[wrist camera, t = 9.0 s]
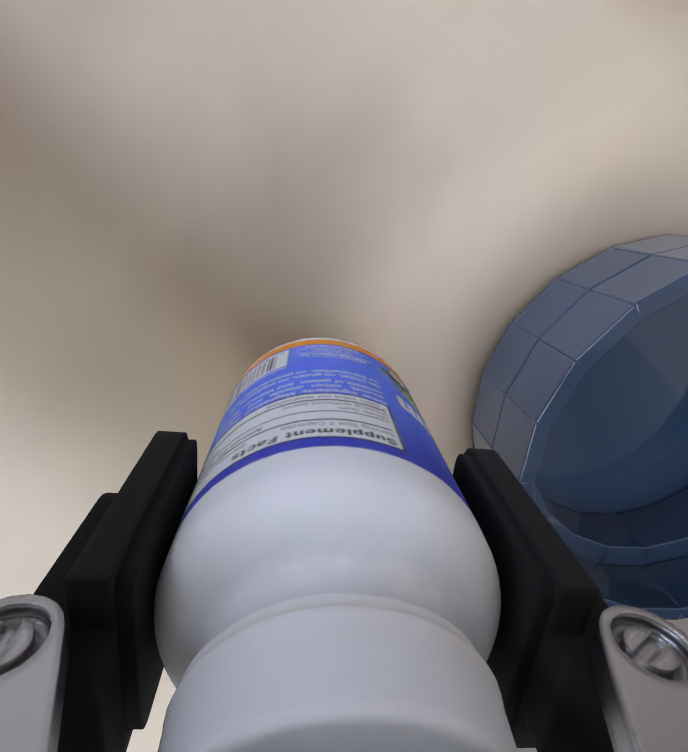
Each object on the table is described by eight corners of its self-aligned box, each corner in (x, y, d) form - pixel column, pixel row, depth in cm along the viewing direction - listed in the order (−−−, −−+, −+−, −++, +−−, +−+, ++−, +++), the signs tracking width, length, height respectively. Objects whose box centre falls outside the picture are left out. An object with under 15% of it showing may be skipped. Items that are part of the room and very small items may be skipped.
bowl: (443, 529, 22) (480, 618, 18) (512, 216, 17) (590, 224, 13) (712, 538, 24) (811, 621, 19) (846, 253, 19) (1025, 272, 14)
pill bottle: (414, 486, 15) (587, 942, 6) (243, 508, 15) (144, 1019, 6) (406, 319, 13) (652, 617, 4) (208, 342, 13) (-36, 715, 4)
